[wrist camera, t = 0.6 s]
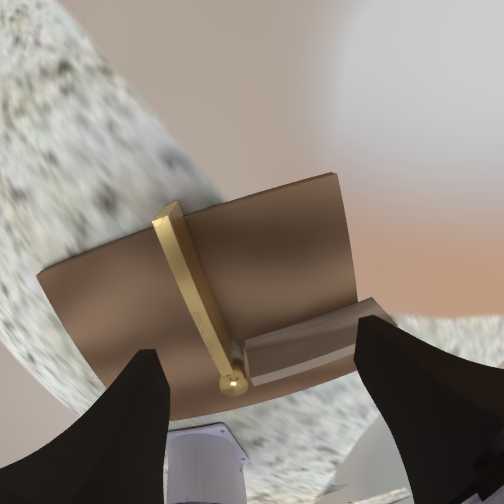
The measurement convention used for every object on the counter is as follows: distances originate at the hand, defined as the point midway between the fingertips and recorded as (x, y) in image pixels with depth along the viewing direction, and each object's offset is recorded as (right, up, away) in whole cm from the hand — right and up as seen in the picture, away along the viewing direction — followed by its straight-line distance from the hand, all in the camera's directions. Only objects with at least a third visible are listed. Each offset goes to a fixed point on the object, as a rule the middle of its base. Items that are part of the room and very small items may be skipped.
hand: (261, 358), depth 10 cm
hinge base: (-3, -2, +11) cm, 12 cm away
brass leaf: (-3, +1, +9) cm, 10 cm away
